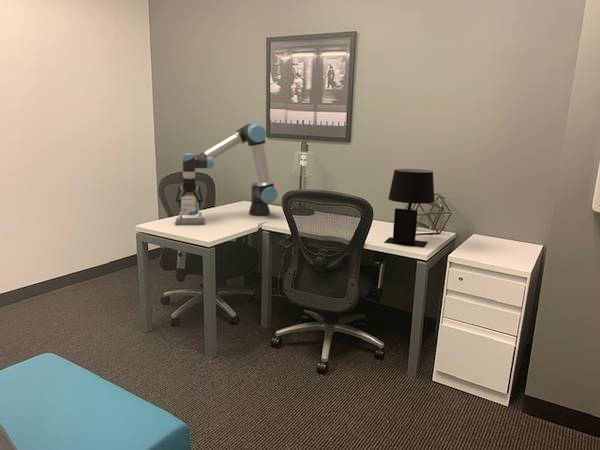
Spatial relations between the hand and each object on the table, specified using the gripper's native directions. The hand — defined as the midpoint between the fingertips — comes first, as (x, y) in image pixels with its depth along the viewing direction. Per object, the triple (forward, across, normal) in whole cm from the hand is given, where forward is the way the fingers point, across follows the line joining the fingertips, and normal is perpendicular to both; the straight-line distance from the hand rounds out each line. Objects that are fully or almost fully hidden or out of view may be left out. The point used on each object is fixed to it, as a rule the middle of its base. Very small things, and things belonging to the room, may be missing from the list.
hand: (190, 212), depth 292 cm
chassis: (+7, 0, 0) cm, 7 cm away
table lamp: (+7, -124, +60) cm, 138 cm away
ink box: (+1, 0, 0) cm, 1 cm away
